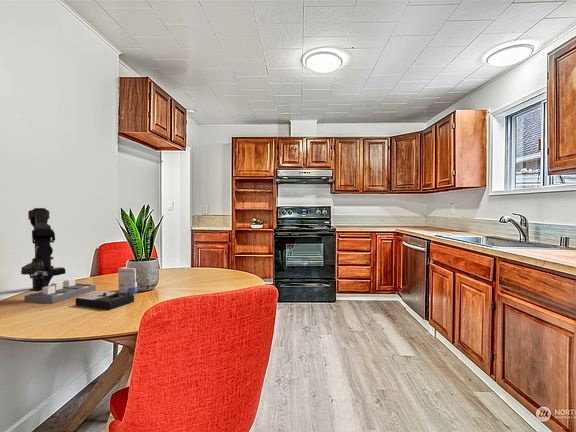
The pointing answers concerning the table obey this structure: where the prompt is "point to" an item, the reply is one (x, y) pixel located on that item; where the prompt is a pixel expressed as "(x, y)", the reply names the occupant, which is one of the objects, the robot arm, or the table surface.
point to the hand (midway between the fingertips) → (43, 290)
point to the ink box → (127, 280)
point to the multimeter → (105, 300)
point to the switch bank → (60, 294)
